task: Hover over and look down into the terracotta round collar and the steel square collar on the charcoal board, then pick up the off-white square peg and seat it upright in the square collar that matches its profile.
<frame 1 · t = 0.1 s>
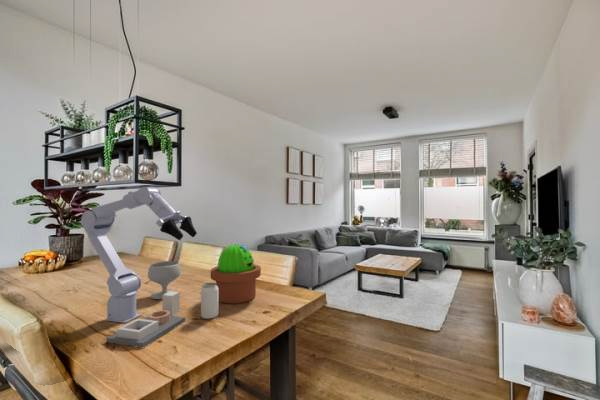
hand: (188, 236, 104), 32 cm above the table, tool tilted 50°, fingers open, 7 cm apart
chalice: (164, 296, 137), on the table
square peg: (171, 313, 115), on the table
socket board: (148, 331, 100), on the table
potted cactus: (236, 297, 134), on the table
can: (209, 316, 113), on the table
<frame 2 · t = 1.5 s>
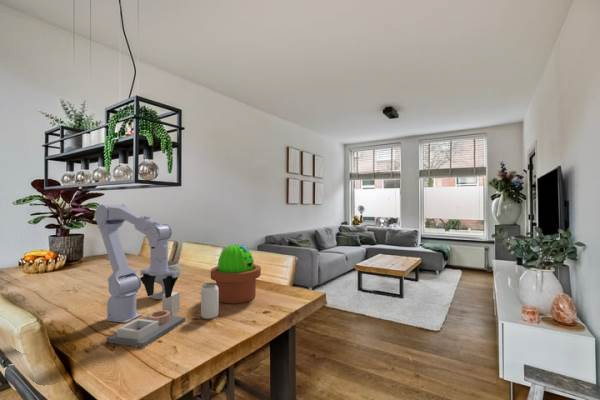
hand: (159, 296, 105), 10 cm above the table, tool pointing down, fingers open, 7 cm apart
nothing on the table moved.
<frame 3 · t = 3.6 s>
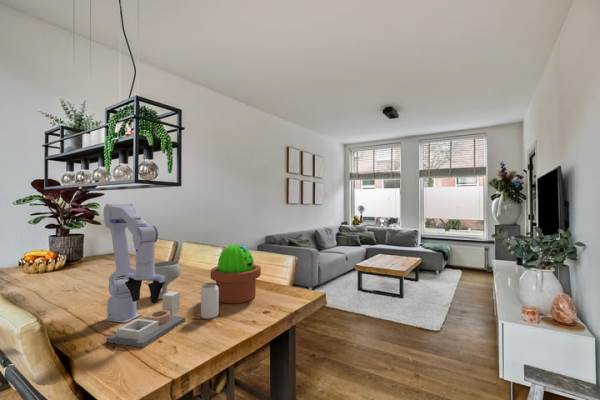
hand: (145, 301, 99), 10 cm above the table, tool pointing down, fingers open, 7 cm apart
nothing on the table moved.
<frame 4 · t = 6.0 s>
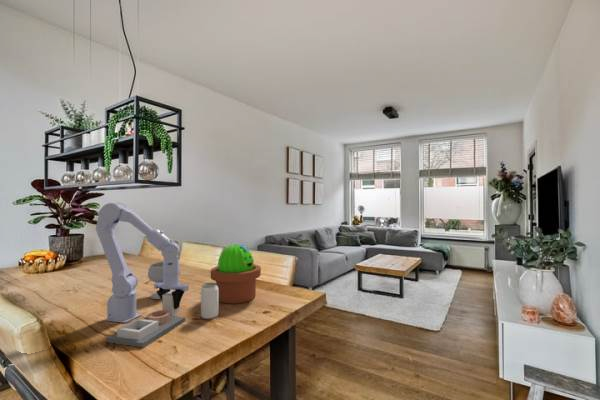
hand: (171, 307, 115), 2 cm above the table, tool pointing down, fingers closed on square peg, 4 cm apart
square peg: (171, 313, 115), on the table, touching gripper
everything else where it was.
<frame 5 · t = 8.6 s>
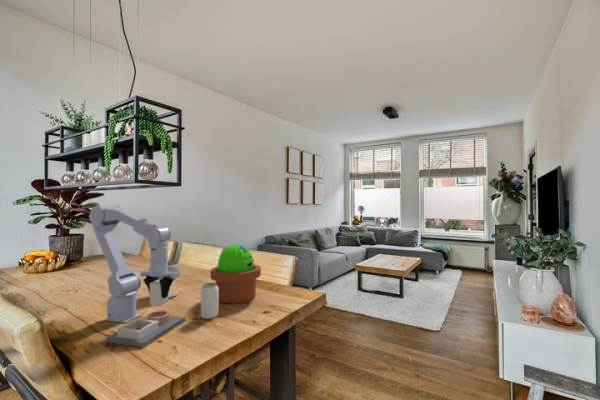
hand: (159, 296, 107), 9 cm above the table, tool pointing down, fingers closed on square peg, 4 cm apart
square peg: (159, 303, 107), point 7 cm above the table, touching gripper
everything else where it was.
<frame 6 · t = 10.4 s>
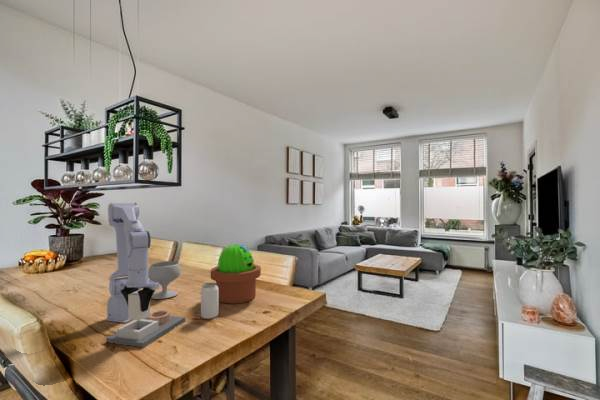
hand: (138, 309, 95), 9 cm above the table, tool pointing down, fingers closed on square peg, 4 cm apart
square peg: (139, 317, 96), point 6 cm above the table, touching gripper
everything else where it was.
when the fingers open (5 cm above the table, at t = 11.6 s): square peg drops 1 cm, resting on socket board.
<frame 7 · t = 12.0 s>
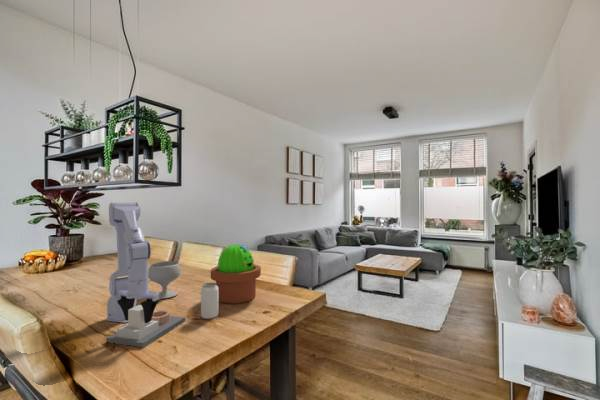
hand: (138, 320, 95), 5 cm above the table, tool pointing down, fingers open, 7 cm apart
square peg: (139, 332, 96), point 1 cm above the table, touching socket board
everything else where it was.
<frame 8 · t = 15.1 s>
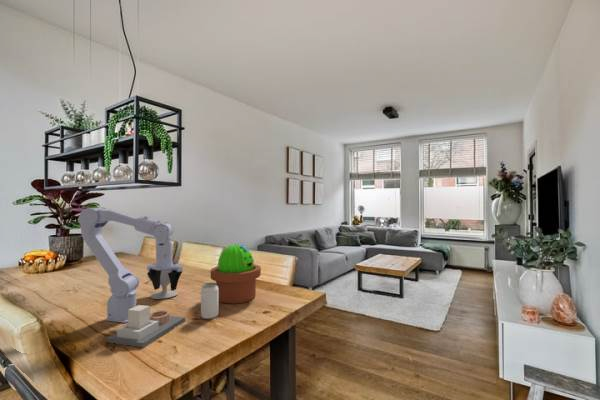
hand: (165, 289, 112), 10 cm above the table, tool pointing down, fingers open, 7 cm apart
nothing on the table moved.
at the end: square peg 0.3 cm from the target spot on the socket board, point 1.5 cm above the socket board's base; square peg tilted 0°; the gripper is holding nothing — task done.
